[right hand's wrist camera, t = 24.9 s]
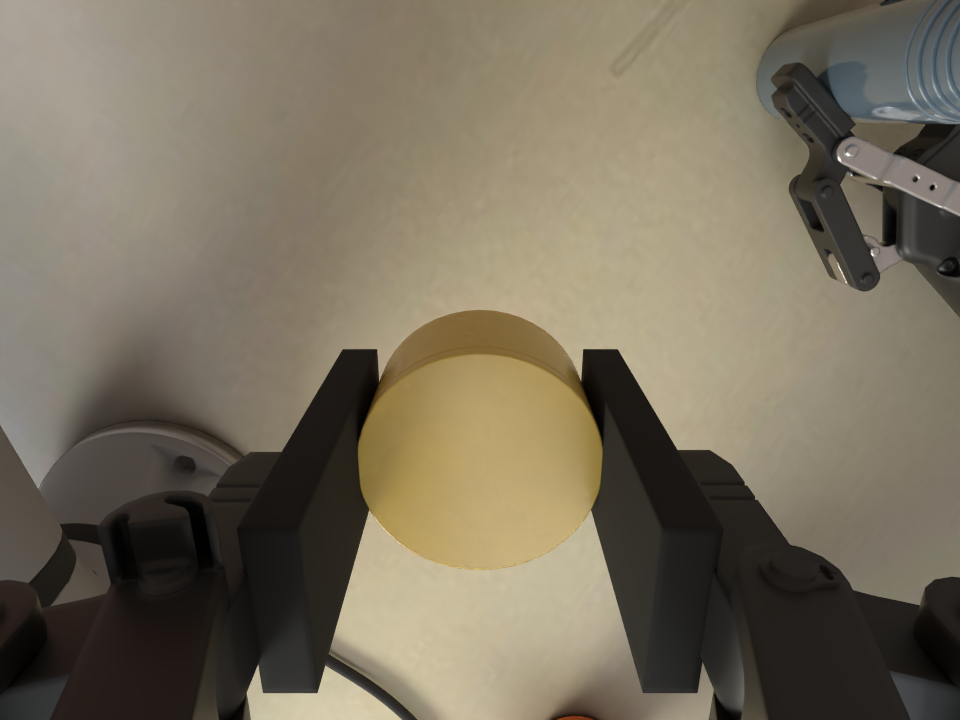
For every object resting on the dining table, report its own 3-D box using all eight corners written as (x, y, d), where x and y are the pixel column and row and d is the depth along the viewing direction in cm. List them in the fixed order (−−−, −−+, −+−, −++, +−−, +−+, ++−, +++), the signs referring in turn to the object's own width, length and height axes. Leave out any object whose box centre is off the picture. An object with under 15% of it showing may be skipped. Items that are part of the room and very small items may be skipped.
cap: (578, 495, 15) (598, 569, 13) (384, 497, 15) (365, 571, 13) (587, 307, 13) (611, 350, 11) (370, 310, 14) (345, 354, 11)
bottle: (783, 141, 35) (1064, 161, 18) (739, 66, 34) (998, 15, 17) (862, 82, 34) (1236, 47, 17) (820, 3, 33) (1181, -119, 16)
